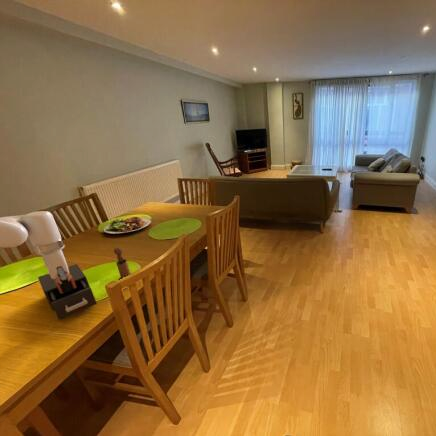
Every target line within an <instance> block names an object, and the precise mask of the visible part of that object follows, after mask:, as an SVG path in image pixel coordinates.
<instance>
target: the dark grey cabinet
mask: <svg viewBox="0 0 436 436" xmlns="http://www.w3.org/2000/svg"><path fill="white" fill-rule="evenodd" d="M68 269H69V273H70V274H71V276H72V278H73V280H74V282H77V281H79V280H83V281H84V283H85V284H86V286H87V288H88V287H90V288H91V286H90V283H89V281H88V279H87V278H88V277H86V274H85V273H84V271H83V270H82V269H81V268H80V266H79V264H78V263H75V264H71V265H70V266H68ZM37 278H38V281H39V283H40V286H41V289H42V291H43V294H44V296H45V298H46V300H47V302H48V304H49V306H50V308H51V310H52V312H54V313H55V311H54V309H53V307H52V305H51V302H53V300H52V297H51V295H50V293H49V292H50V291H53V290H55V289H58V287H57V285H56V282H55V280H54V279H52V278H51V276H50V274H49V272H48V273H45V274H43V275H40V276H38V277H37Z"/></svg>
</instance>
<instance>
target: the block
mask: <svg viewBox="0 0 436 436" xmlns="http://www.w3.org/2000/svg"><path fill="white" fill-rule="evenodd" d="M68 277H69V279H70V280H71V282H72V285H73V287H74V288H76V285H75V283H74V280H73V278H72V276H71V274H70V273H69V274H68ZM54 280H55V282H56V285H57V287H58V289H59V291H60V293H63V292H62V289H61V287H60V285H59V284H60V282H59V280H58V278H55V279H54ZM60 280H61V277H60Z"/></svg>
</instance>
